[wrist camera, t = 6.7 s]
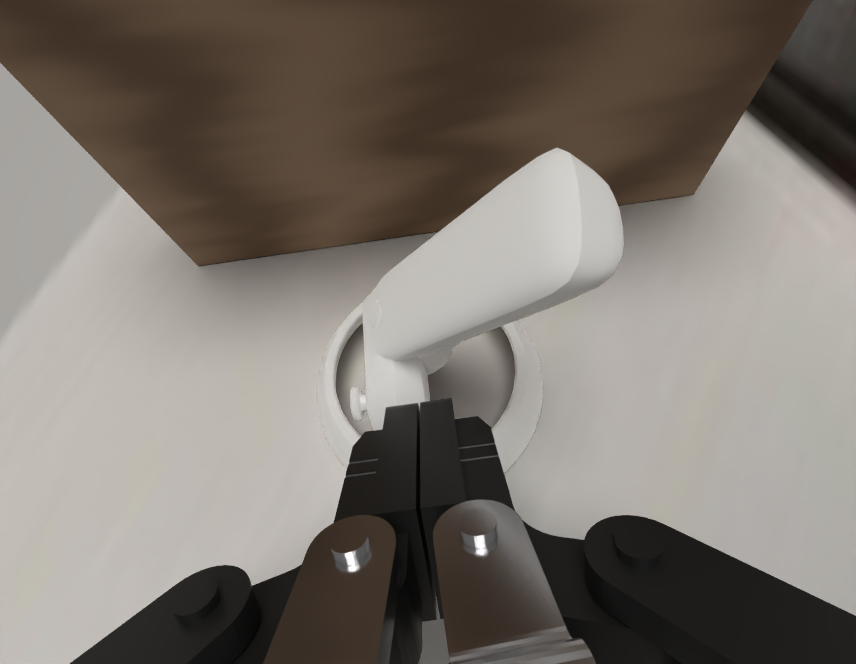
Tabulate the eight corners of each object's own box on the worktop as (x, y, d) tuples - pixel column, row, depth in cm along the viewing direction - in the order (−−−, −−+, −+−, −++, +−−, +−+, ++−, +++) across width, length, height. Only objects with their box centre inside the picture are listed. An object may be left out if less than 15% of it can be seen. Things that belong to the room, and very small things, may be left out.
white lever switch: (865, 487, 9) (632, 592, 5) (477, 482, 18) (303, 515, 15) (751, 137, 10) (516, 17, 7) (452, 303, 20) (291, 293, 16)
